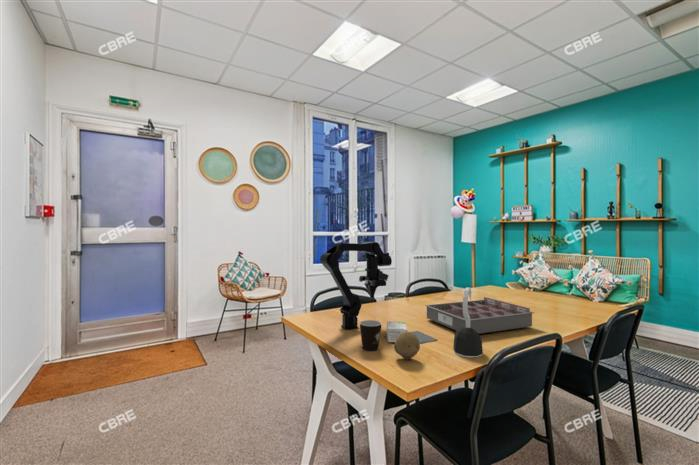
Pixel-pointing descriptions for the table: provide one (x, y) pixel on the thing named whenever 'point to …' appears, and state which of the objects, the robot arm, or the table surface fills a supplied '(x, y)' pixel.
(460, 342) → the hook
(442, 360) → the table surface
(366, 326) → the coffee mug
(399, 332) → the ink box
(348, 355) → the table surface
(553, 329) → the table surface
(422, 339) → the mat
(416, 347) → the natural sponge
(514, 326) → the organizer tray
